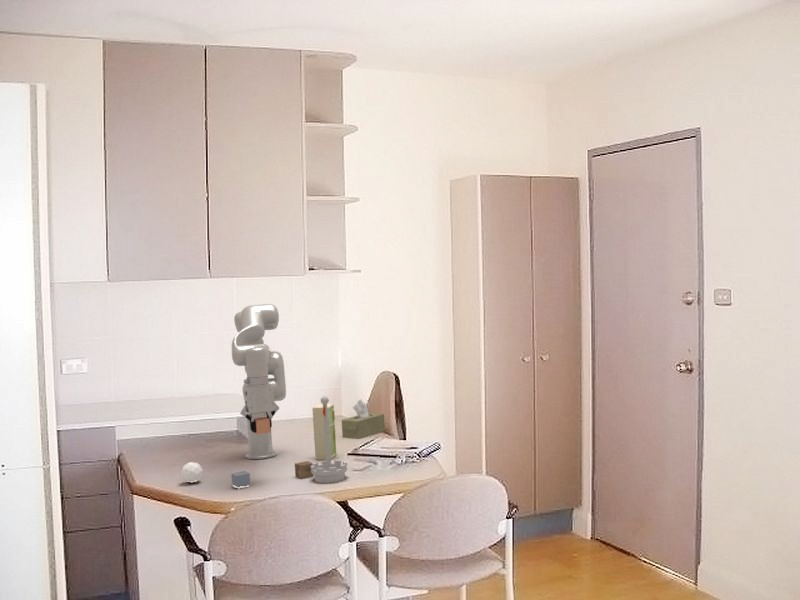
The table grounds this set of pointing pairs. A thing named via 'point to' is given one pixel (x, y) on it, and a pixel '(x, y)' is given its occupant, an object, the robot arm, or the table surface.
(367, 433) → the tissue box
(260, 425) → the terracotta block
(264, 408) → the robot arm
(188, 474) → the geometric ball
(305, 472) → the walnut block
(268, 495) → the table surface
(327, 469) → the flag stand
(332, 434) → the green and beige carton
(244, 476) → the slate-grey block
